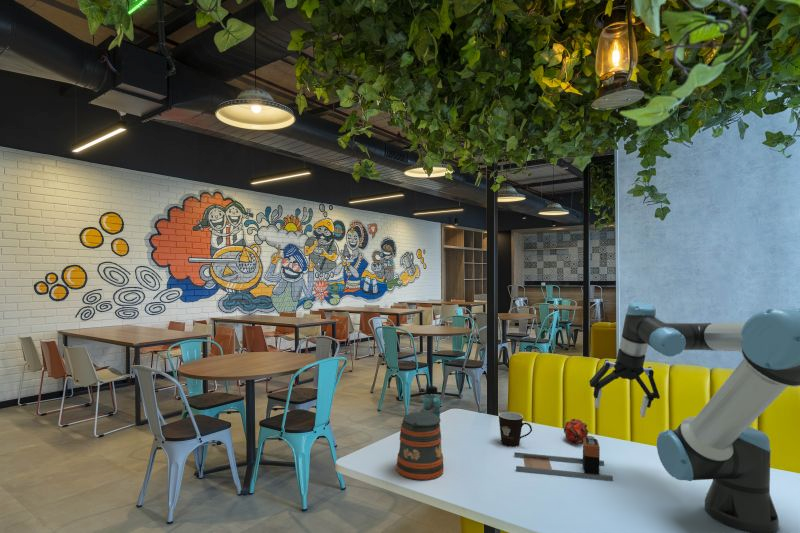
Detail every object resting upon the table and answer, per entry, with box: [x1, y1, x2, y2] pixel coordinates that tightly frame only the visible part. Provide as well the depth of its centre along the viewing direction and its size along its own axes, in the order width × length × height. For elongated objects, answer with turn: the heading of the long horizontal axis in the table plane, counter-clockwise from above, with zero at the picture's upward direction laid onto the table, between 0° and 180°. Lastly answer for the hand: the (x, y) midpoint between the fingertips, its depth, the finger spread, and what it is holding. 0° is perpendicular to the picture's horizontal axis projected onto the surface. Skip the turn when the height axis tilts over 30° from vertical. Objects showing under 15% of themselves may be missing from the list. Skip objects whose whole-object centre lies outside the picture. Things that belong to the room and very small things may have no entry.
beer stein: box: [395, 398, 445, 481], centre depth 143 cm, size 19×15×20 cm
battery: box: [582, 435, 601, 474], centre depth 142 cm, size 4×7×10 cm, turn 162°
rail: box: [513, 452, 614, 482], centre depth 144 cm, size 12×28×1 cm, turn 79°
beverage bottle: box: [422, 385, 441, 425], centre depth 163 cm, size 6×7×20 cm
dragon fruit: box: [563, 418, 589, 445], centre depth 167 cm, size 8×8×12 cm
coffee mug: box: [498, 411, 533, 448], centre depth 162 cm, size 12×9×10 cm
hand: (618, 410), depth 146 cm, fingers open, 13 cm apart
